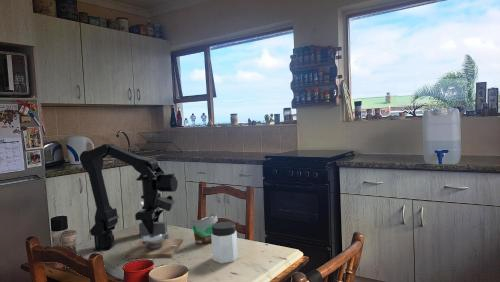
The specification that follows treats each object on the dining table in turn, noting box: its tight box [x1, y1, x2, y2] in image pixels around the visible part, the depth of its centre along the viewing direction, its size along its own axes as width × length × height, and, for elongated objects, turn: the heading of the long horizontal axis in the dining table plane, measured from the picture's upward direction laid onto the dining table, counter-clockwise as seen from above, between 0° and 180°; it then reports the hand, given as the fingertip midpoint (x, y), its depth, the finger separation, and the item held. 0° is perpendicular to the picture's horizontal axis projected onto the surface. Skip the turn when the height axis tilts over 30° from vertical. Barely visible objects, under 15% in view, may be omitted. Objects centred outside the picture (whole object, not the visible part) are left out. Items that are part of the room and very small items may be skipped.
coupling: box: [138, 221, 170, 245], centre depth 140 cm, size 11×9×7 cm
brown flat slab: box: [122, 238, 184, 259], centre depth 141 cm, size 18×16×3 cm
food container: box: [191, 212, 219, 246], centre depth 146 cm, size 12×6×10 cm, turn 143°
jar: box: [211, 221, 239, 264], centre depth 127 cm, size 9×8×12 cm
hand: (153, 231), depth 140 cm, fingers open, 5 cm apart
